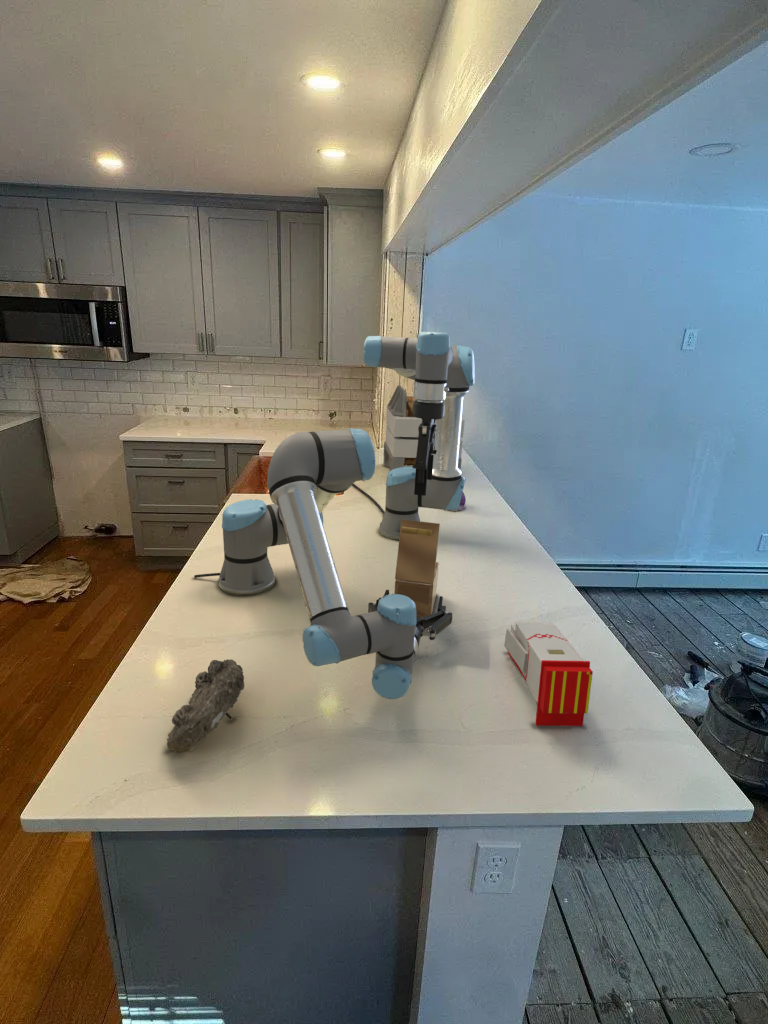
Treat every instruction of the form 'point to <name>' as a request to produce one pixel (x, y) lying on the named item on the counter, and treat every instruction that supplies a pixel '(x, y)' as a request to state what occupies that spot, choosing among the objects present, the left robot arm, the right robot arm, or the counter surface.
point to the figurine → (461, 502)
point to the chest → (419, 593)
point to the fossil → (206, 705)
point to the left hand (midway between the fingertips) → (413, 597)
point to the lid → (417, 551)
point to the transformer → (404, 432)
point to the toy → (551, 672)
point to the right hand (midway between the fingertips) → (423, 486)
